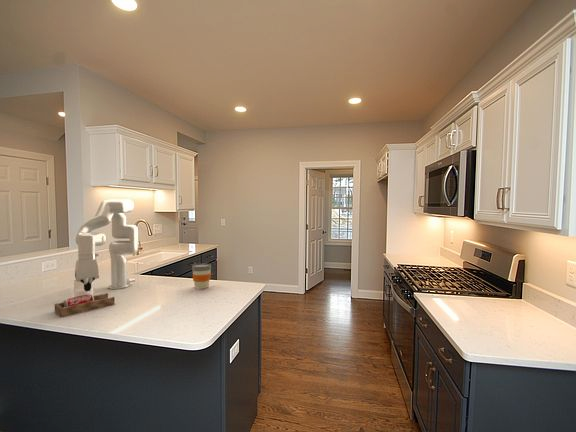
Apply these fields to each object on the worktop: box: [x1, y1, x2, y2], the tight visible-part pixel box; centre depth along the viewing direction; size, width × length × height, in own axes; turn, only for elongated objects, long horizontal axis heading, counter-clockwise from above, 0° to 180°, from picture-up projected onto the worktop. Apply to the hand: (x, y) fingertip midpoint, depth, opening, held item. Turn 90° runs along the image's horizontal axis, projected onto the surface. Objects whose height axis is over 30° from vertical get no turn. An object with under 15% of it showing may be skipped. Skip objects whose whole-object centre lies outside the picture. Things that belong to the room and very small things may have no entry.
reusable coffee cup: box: [191, 263, 212, 290], centre depth 190 cm, size 13×13×15 cm
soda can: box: [63, 294, 94, 307], centre depth 148 cm, size 7×7×12 cm
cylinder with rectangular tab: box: [73, 278, 94, 297], centre depth 166 cm, size 9×9×12 cm
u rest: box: [54, 292, 116, 318], centre depth 150 cm, size 24×12×4 cm, turn 140°
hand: (87, 290), depth 151 cm, fingers closed
